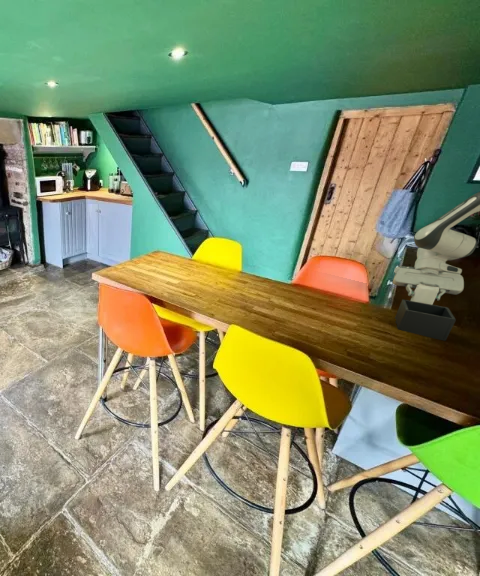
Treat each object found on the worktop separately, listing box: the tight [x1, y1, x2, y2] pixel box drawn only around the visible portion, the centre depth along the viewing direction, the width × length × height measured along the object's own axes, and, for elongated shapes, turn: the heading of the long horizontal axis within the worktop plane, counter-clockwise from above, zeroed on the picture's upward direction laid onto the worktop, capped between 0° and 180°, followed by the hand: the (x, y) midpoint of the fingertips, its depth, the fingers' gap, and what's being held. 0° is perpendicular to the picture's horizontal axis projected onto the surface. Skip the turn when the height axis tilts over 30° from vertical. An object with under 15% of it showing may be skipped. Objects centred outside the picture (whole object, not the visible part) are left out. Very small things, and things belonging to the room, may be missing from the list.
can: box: [409, 282, 439, 305], centre depth 125 cm, size 6×6×12 cm
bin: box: [394, 299, 457, 342], centre depth 114 cm, size 13×13×9 cm
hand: (423, 297), depth 125 cm, fingers closed on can, 6 cm apart
